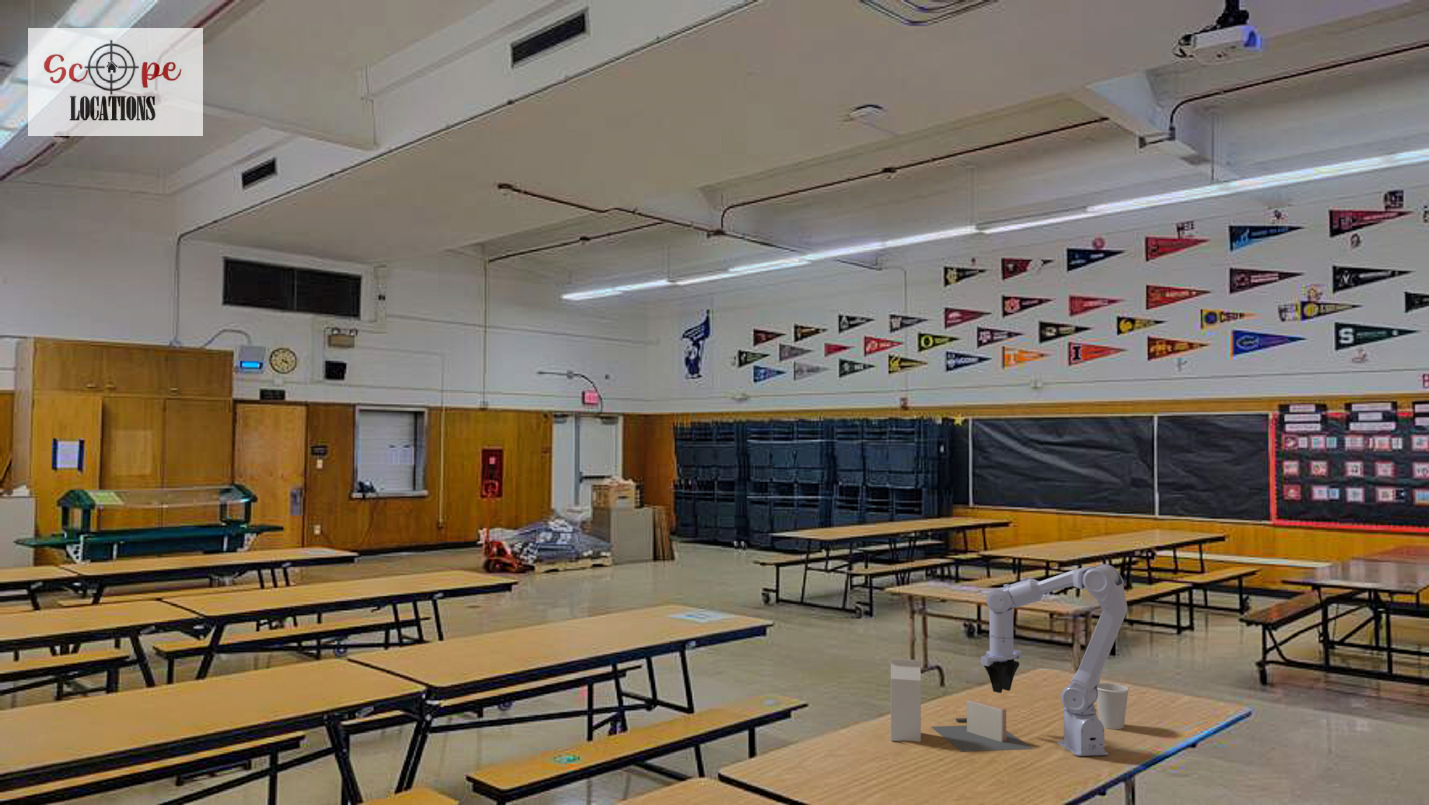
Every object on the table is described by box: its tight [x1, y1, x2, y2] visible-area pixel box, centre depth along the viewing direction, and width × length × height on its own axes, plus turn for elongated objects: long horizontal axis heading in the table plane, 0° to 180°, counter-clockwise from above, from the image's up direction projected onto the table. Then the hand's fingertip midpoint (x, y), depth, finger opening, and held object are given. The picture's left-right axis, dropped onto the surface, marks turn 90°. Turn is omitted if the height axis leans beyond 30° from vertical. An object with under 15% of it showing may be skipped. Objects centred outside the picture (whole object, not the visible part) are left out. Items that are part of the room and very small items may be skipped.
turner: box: [955, 717, 967, 723], centre depth 233 cm, size 19×7×1 cm, turn 98°
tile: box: [966, 699, 1007, 742], centre depth 222 cm, size 2×10×8 cm, turn 38°
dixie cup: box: [1096, 682, 1130, 730], centre depth 233 cm, size 8×8×10 cm
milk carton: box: [890, 658, 922, 742], centre depth 221 cm, size 7×7×19 cm
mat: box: [931, 725, 1034, 753], centre depth 220 cm, size 19×18×1 cm
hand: (1001, 691), depth 226 cm, fingers open, 3 cm apart
